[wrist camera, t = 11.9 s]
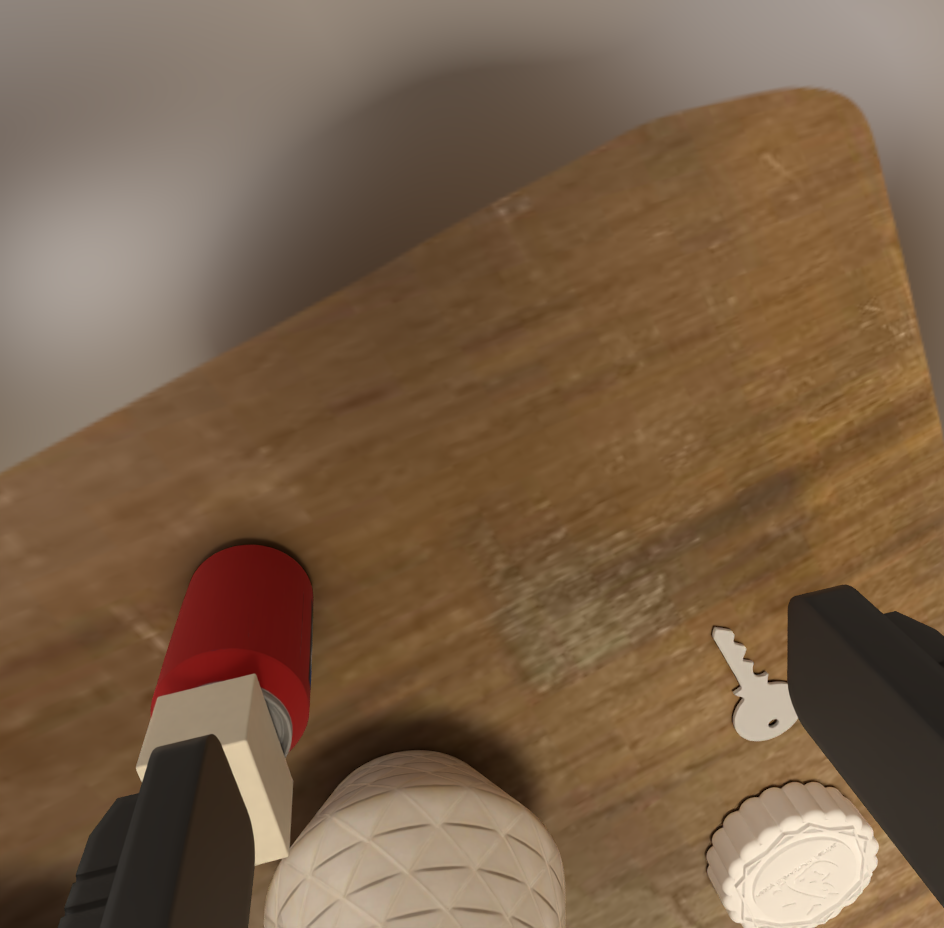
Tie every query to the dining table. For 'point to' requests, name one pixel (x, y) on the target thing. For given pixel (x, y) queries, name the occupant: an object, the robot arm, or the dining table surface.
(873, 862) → the mooncake
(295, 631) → the beverage can
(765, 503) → the dining table surface
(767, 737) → the key
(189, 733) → the tea packet
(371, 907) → the vase
